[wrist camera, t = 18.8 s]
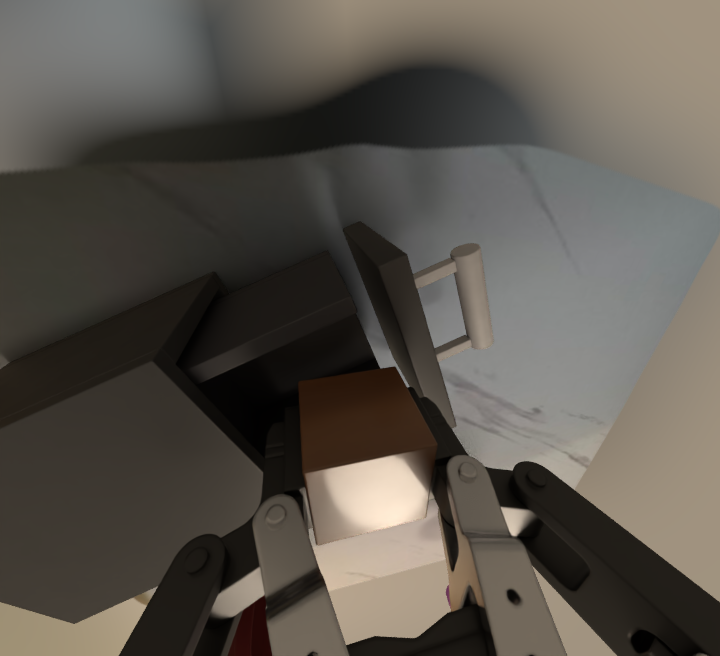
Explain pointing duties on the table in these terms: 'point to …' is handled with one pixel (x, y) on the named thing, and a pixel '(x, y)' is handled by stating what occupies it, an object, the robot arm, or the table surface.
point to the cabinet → (114, 460)
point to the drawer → (328, 331)
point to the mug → (252, 632)
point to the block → (363, 453)
